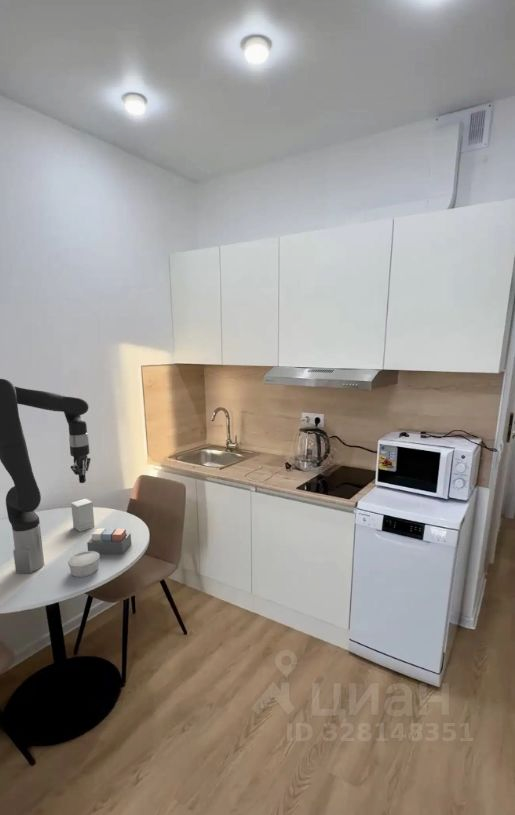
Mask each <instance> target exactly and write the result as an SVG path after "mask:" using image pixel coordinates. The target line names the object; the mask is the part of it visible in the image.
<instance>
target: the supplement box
mask: <svg viewBox="0 0 515 815" xmlns="http://www.w3.org/2000/svg"><path fill="white" fill-rule="evenodd" d="M70 504H71V514H72V515H71V516H72V527H73V529H76V530H77V531H78V532H83V531H86V530H90V529H92V528H94V527H95V517H94V506H93V501H92V500H90V499H88V498H83V499H80V500H76V501H72V502H71V503H70Z"/></svg>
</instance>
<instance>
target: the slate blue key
mask: <svg viewBox="0 0 515 815" xmlns="http://www.w3.org/2000/svg"><path fill="white" fill-rule="evenodd" d="M105 529H106V530H105V531H104V533H103V534H102V541H113V540H112V534H113V533H114V532H115V531H116V529H117V528H105Z"/></svg>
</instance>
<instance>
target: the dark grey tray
mask: <svg viewBox="0 0 515 815" xmlns="http://www.w3.org/2000/svg"><path fill="white" fill-rule="evenodd" d="M130 544H131V545H132V533H131V532H126V537H125V538H124V539H123V541H92V537H91V538H90V539H89V540H88V541H87V543H86V545H87V551H95V552H97V553H99V555H121V554H123V555H124V554H125V553H126V551H127V550H128V549H127V548H130V546H131V545H130Z"/></svg>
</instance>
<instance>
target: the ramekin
mask: <svg viewBox="0 0 515 815" xmlns="http://www.w3.org/2000/svg"><path fill="white" fill-rule="evenodd" d="M100 555H101V554H99V553H97V552H95V551H88V550H86V551H82V552H77V553H76V554H73V555H72V556H70V557H69V559H68V561H67V564H68V566H69V569H70V573H71V575H73V576H74V577H76V578H85V577H88V576H90V575H93V574H94V573H95V572H97V570H98V569H99V565H100V564H99V563H100V558H101V556H100Z"/></svg>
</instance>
